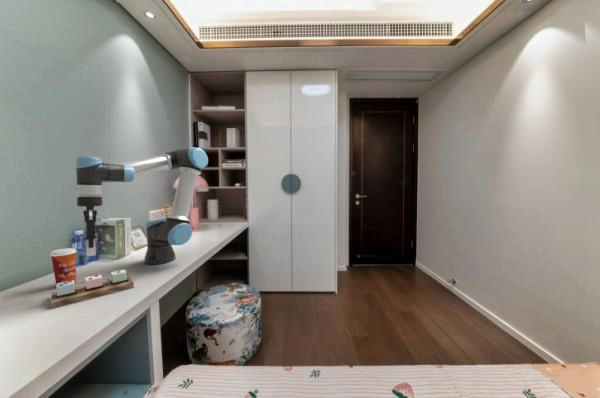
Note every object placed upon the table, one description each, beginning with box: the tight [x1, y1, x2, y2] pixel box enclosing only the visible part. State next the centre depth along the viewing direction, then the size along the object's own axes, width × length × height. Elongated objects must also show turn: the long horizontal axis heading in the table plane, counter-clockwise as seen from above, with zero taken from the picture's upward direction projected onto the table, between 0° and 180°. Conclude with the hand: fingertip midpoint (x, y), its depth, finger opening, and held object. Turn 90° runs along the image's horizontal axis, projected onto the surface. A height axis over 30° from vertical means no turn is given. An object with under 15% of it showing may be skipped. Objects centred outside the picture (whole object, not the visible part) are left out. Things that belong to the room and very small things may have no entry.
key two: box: [84, 274, 103, 289], centre depth 96 cm, size 5×5×4 cm
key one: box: [110, 269, 128, 283], centre depth 102 cm, size 5×5×4 cm
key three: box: [55, 280, 76, 296], centre depth 91 cm, size 5×5×4 cm
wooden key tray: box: [50, 274, 135, 309], centre depth 97 cm, size 24×12×2 cm, turn 134°
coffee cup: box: [49, 247, 78, 287], centre depth 104 cm, size 8×8×15 cm
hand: (91, 255), depth 97 cm, fingers closed
